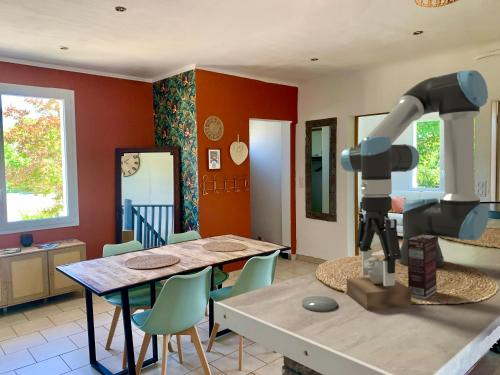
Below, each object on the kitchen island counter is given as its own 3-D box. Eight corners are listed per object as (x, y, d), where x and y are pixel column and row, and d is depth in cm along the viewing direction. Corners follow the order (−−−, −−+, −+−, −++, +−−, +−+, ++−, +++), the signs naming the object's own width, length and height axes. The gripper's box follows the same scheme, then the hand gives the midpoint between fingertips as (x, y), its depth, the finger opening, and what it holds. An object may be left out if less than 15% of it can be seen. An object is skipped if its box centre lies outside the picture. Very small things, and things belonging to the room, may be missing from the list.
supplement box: (419, 288, 110) (419, 234, 109) (437, 292, 106) (437, 235, 105) (406, 296, 104) (406, 238, 103) (425, 300, 100) (424, 240, 99)
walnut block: (386, 292, 109) (386, 275, 108) (411, 308, 97) (411, 288, 97) (346, 296, 107) (346, 278, 106) (367, 312, 95) (366, 292, 95)
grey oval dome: (327, 297, 105) (327, 294, 105) (343, 308, 96) (343, 305, 96) (296, 301, 103) (296, 298, 103) (310, 313, 94) (310, 310, 94)
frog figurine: (367, 278, 106) (367, 253, 105) (393, 282, 102) (393, 256, 101) (360, 284, 101) (360, 258, 100) (387, 289, 97) (387, 262, 96)
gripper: (342, 193, 110) (344, 270, 111) (389, 199, 88) (390, 294, 90) (365, 192, 112) (366, 267, 113) (417, 198, 90) (417, 290, 91)
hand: (377, 279), depth 101 cm, fingers open, 9 cm apart
